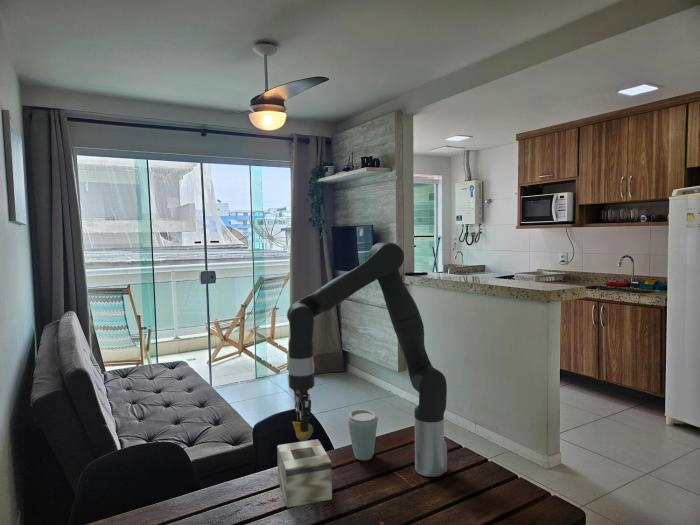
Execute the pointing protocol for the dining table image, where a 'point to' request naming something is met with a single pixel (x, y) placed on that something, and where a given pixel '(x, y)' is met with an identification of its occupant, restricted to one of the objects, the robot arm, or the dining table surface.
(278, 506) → the dining table surface
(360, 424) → the disposable coffee cup
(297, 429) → the drill bit
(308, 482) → the socket block
